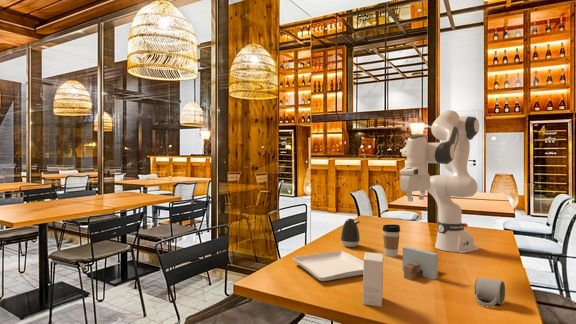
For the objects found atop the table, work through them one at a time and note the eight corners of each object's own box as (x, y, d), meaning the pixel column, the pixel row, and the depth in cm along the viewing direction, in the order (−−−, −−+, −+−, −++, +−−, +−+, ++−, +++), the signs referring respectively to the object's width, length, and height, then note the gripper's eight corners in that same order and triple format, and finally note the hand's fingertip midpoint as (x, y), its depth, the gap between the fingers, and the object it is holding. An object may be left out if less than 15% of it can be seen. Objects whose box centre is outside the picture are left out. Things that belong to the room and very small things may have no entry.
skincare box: (364, 294, 120) (364, 251, 119) (383, 297, 118) (383, 253, 117) (362, 305, 111) (362, 258, 111) (382, 307, 110) (383, 260, 109)
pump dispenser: (355, 249, 176) (355, 221, 175) (337, 246, 182) (337, 218, 182) (363, 245, 184) (363, 218, 183) (346, 242, 190) (346, 216, 190)
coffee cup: (401, 258, 162) (401, 227, 161) (382, 257, 163) (383, 226, 163) (398, 253, 170) (399, 223, 170) (381, 252, 172) (382, 223, 171)
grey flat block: (402, 270, 145) (402, 247, 145) (406, 268, 147) (406, 246, 147) (433, 279, 134) (434, 254, 134) (437, 277, 136) (437, 253, 136)
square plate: (291, 264, 153) (291, 256, 153) (342, 257, 164) (342, 249, 164) (319, 286, 128) (319, 276, 128) (377, 276, 139) (377, 266, 139)
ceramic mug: (479, 293, 121) (479, 272, 120) (505, 300, 115) (505, 278, 115) (470, 303, 113) (470, 281, 113) (498, 311, 107) (498, 288, 107)
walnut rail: (426, 268, 147) (426, 257, 147) (433, 270, 145) (433, 258, 145) (404, 277, 136) (404, 265, 136) (410, 280, 134) (410, 267, 133)
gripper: (421, 169, 162) (421, 197, 163) (397, 170, 149) (397, 201, 150) (434, 170, 157) (433, 199, 158) (410, 171, 145) (410, 203, 145)
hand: (415, 200), depth 154 cm, fingers open, 8 cm apart
